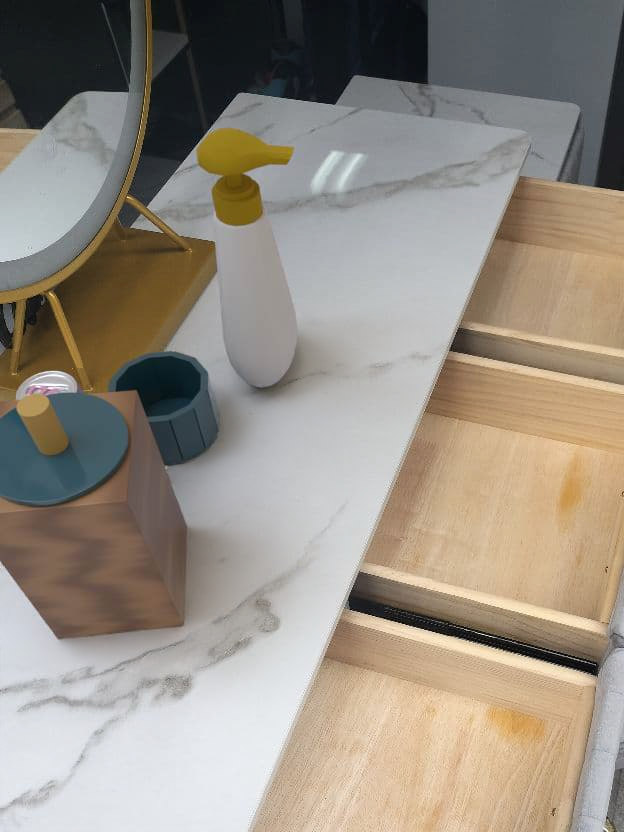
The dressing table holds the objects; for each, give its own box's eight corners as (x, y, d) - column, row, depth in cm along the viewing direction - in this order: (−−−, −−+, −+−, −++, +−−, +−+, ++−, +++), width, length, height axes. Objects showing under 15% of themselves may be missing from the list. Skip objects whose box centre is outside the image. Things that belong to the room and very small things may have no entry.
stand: (57, 639, 78) (-35, 516, 62) (70, 537, 85) (-9, 401, 69) (183, 626, 79) (126, 501, 63) (187, 526, 86) (136, 389, 69)
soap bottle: (311, 406, 96) (282, 174, 72) (224, 402, 96) (165, 170, 72) (323, 332, 103) (300, 99, 79) (241, 328, 103) (194, 95, 79)
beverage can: (81, 465, 90) (30, 365, 78) (132, 473, 90) (89, 373, 78) (58, 507, 87) (1, 409, 75) (111, 516, 87) (62, 419, 74)
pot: (122, 469, 90) (103, 425, 84) (129, 400, 96) (112, 355, 90) (219, 460, 91) (207, 417, 85) (219, 392, 97) (208, 347, 91)
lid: (-31, 513, 62) (-63, 471, 58) (-7, 403, 68) (-33, 357, 64) (124, 499, 63) (104, 456, 59) (134, 391, 69) (116, 345, 65)
